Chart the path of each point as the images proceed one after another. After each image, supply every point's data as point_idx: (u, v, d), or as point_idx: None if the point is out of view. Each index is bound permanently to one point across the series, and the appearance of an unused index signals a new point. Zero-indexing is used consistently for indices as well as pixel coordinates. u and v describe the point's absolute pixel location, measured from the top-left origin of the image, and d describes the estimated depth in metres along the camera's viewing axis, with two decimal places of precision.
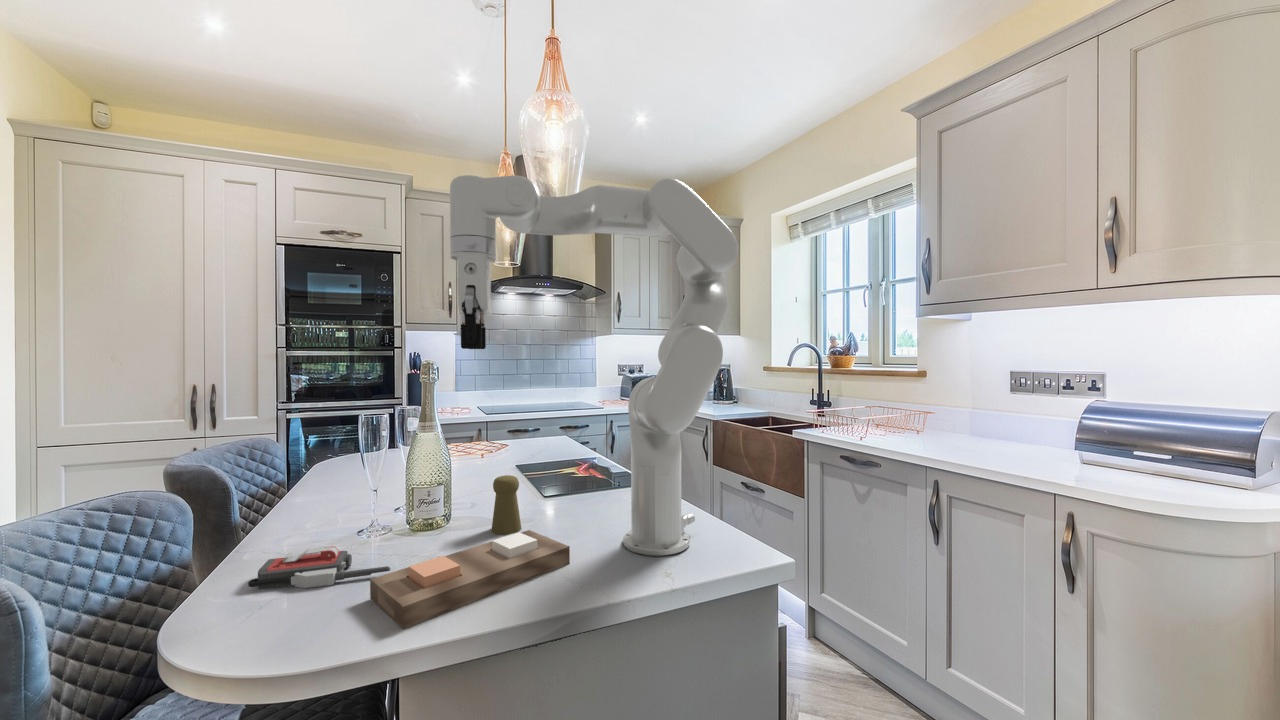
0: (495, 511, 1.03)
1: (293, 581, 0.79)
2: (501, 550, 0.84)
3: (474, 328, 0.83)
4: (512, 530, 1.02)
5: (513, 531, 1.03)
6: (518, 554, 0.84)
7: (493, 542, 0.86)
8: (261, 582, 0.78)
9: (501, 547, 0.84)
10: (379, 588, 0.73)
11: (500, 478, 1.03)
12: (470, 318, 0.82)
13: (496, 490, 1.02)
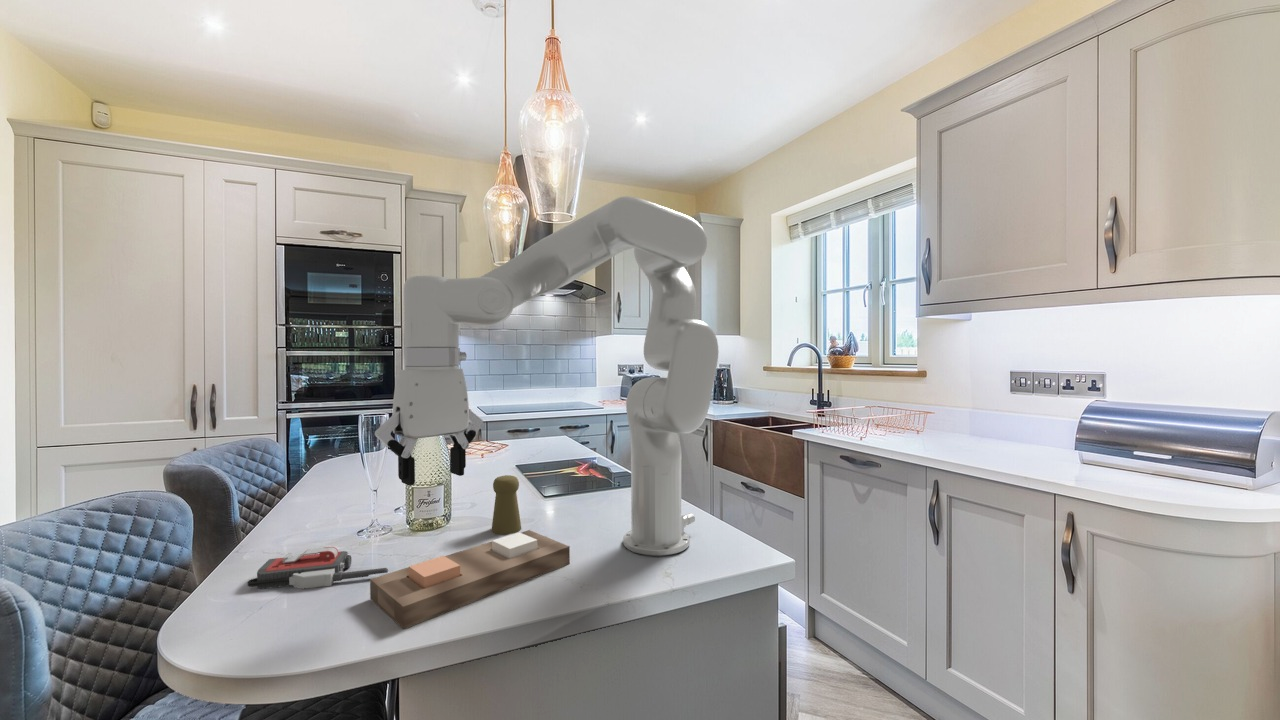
0: (495, 511, 1.03)
1: (291, 581, 0.79)
2: (501, 550, 0.84)
3: None
4: (512, 530, 1.02)
5: (513, 531, 1.03)
6: (518, 554, 0.84)
7: (493, 542, 0.86)
8: (260, 582, 0.79)
9: (501, 547, 0.84)
10: (379, 588, 0.73)
11: (500, 478, 1.03)
12: None
13: (496, 490, 1.02)
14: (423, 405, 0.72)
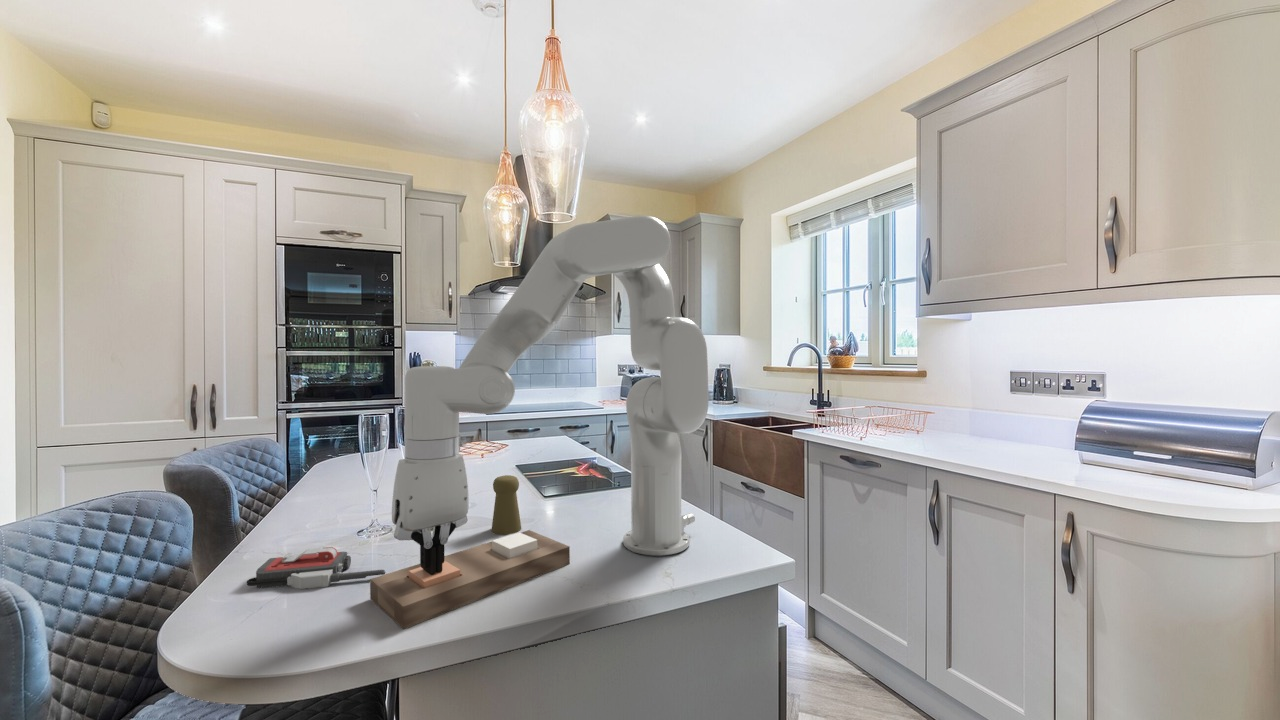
0: (495, 511, 1.03)
1: (289, 582, 0.79)
2: (501, 550, 0.84)
3: None
4: (512, 530, 1.02)
5: (513, 531, 1.03)
6: (518, 554, 0.84)
7: (493, 542, 0.86)
8: (259, 581, 0.79)
9: (501, 547, 0.84)
10: (379, 588, 0.73)
11: (500, 478, 1.03)
12: None
13: (496, 490, 1.02)
14: (423, 498, 0.73)
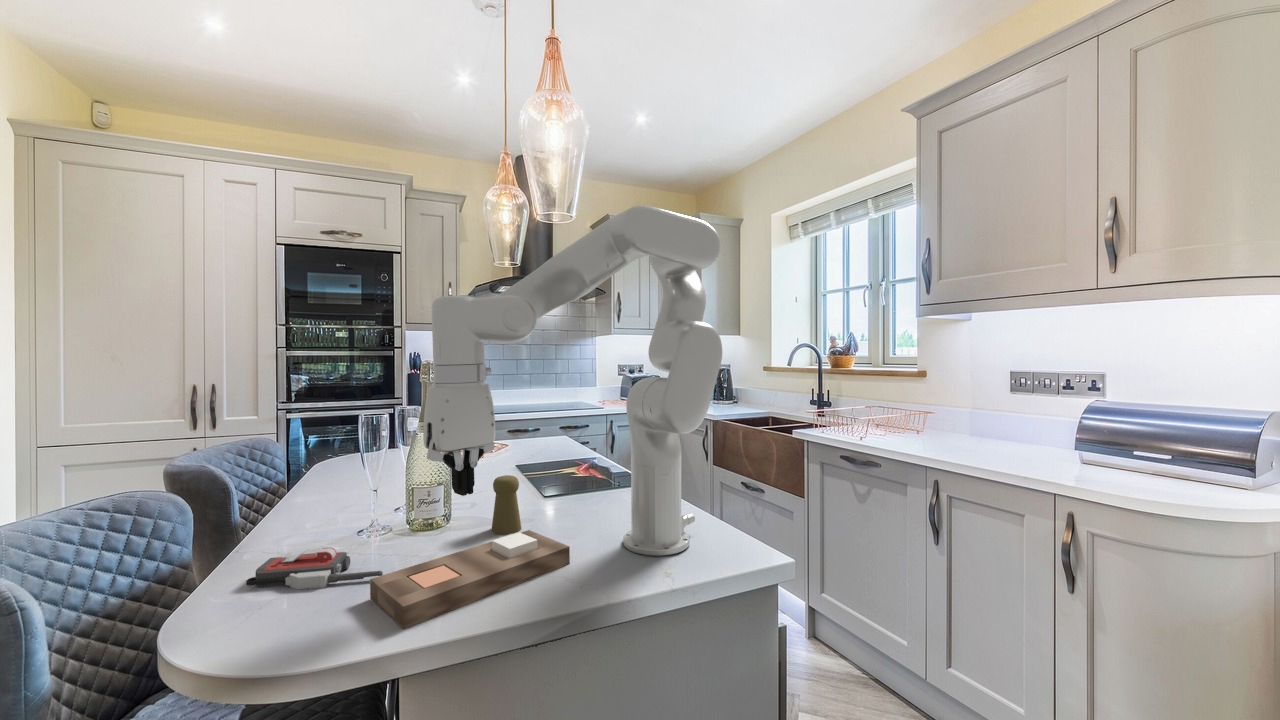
0: (495, 511, 1.03)
1: (288, 582, 0.79)
2: (501, 550, 0.84)
3: None
4: (512, 530, 1.02)
5: (513, 531, 1.03)
6: (518, 554, 0.84)
7: (493, 542, 0.86)
8: (258, 581, 0.79)
9: (501, 547, 0.84)
10: (379, 588, 0.73)
11: (500, 478, 1.03)
12: None
13: (496, 490, 1.02)
14: (453, 420, 0.76)
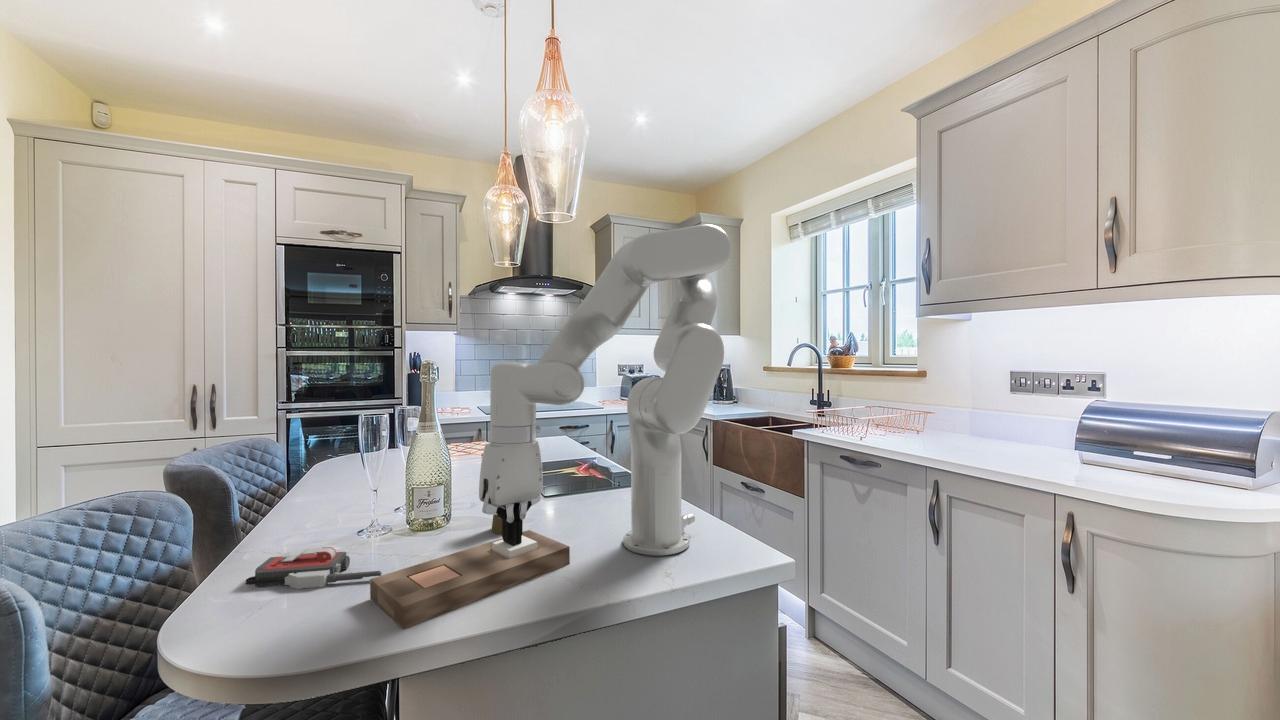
0: None
1: (287, 581, 0.79)
2: (501, 552, 0.84)
3: None
4: None
5: None
6: None
7: (493, 544, 0.86)
8: (257, 581, 0.79)
9: (501, 549, 0.84)
10: (379, 588, 0.73)
11: None
12: None
13: None
14: (508, 477, 0.83)
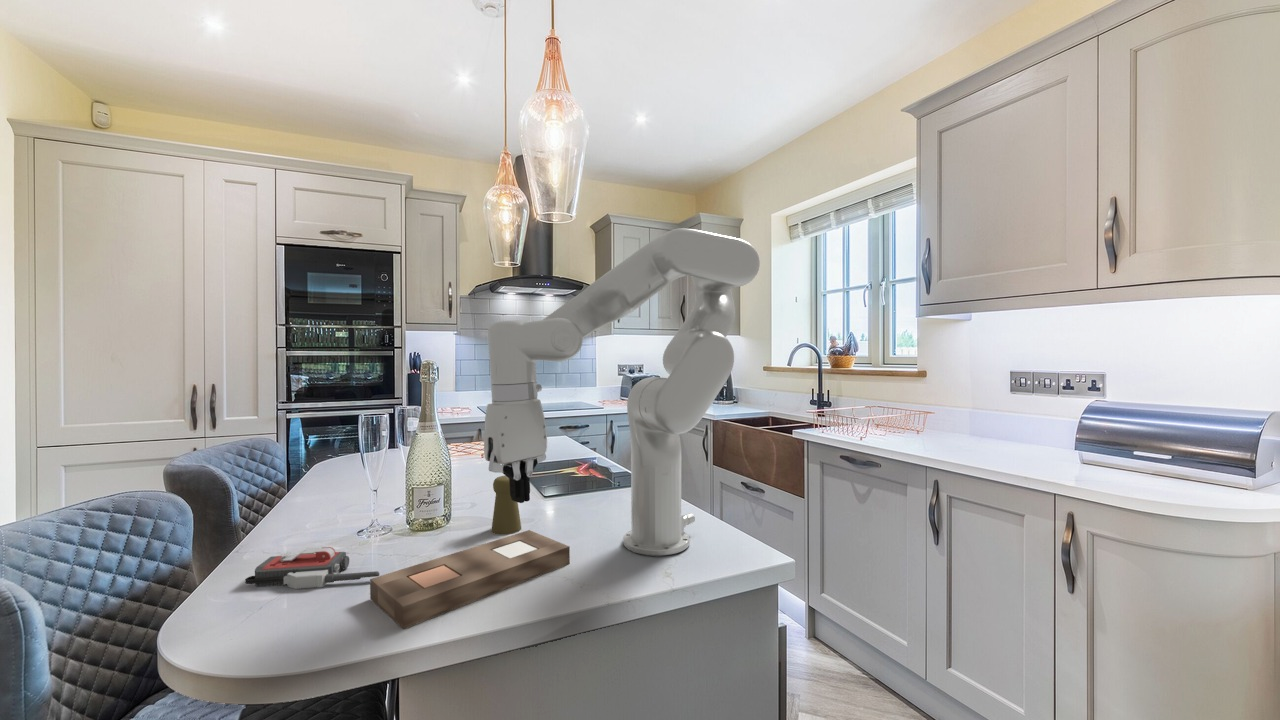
0: (495, 511, 1.03)
1: (285, 581, 0.79)
2: None
3: None
4: (512, 530, 1.02)
5: (513, 531, 1.03)
6: None
7: None
8: (256, 580, 0.79)
9: None
10: (379, 588, 0.73)
11: (500, 478, 1.03)
12: None
13: (496, 490, 1.02)
14: (512, 435, 0.83)
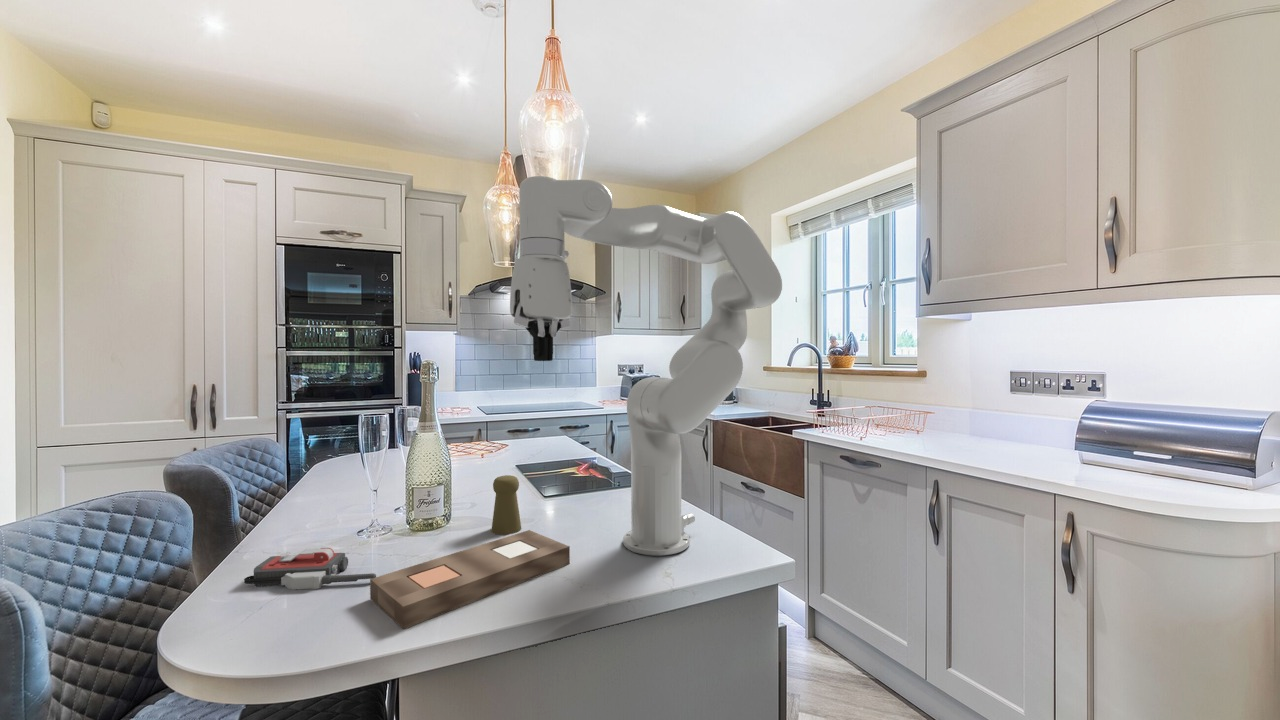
0: (495, 511, 1.03)
1: (283, 581, 0.79)
2: None
3: None
4: (512, 530, 1.02)
5: (513, 531, 1.03)
6: None
7: None
8: (255, 580, 0.79)
9: None
10: (379, 588, 0.73)
11: (500, 478, 1.03)
12: None
13: (496, 490, 1.02)
14: (539, 288, 0.83)
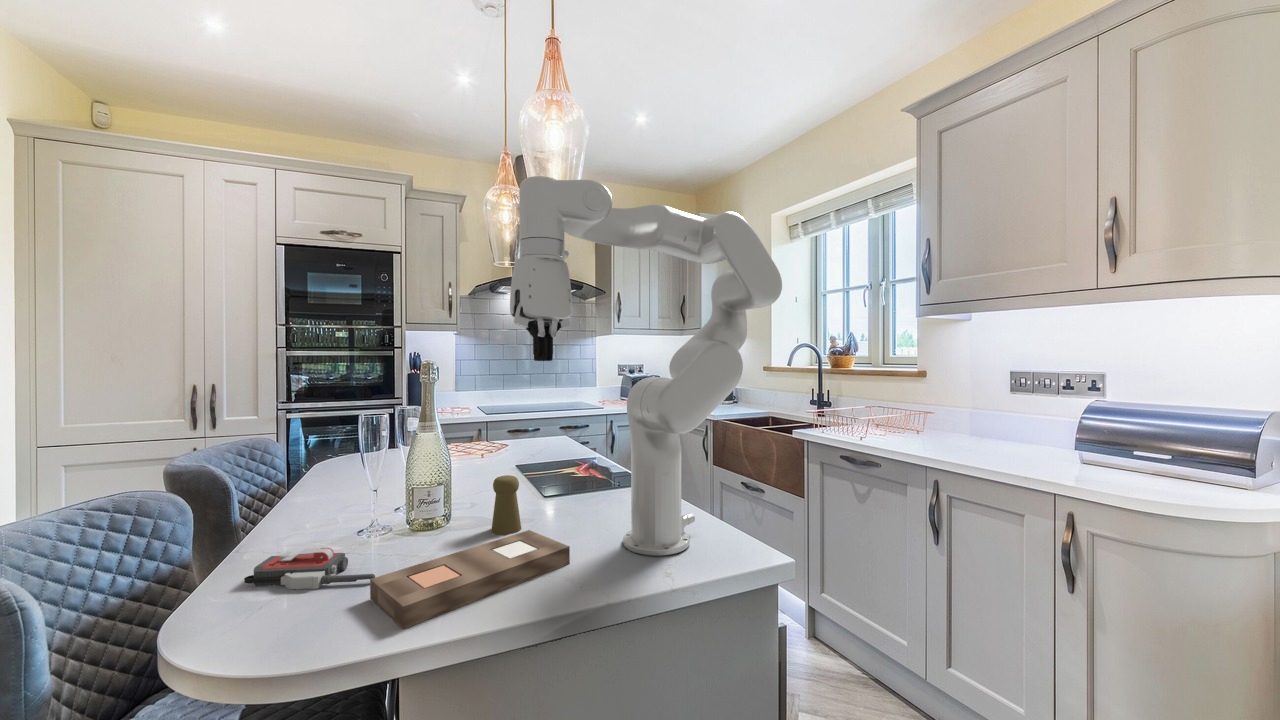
0: (495, 511, 1.03)
1: (283, 581, 0.79)
2: None
3: None
4: (512, 530, 1.02)
5: (513, 531, 1.03)
6: None
7: None
8: (255, 579, 0.79)
9: None
10: (379, 588, 0.73)
11: (500, 478, 1.03)
12: None
13: (496, 490, 1.02)
14: (539, 288, 0.83)
